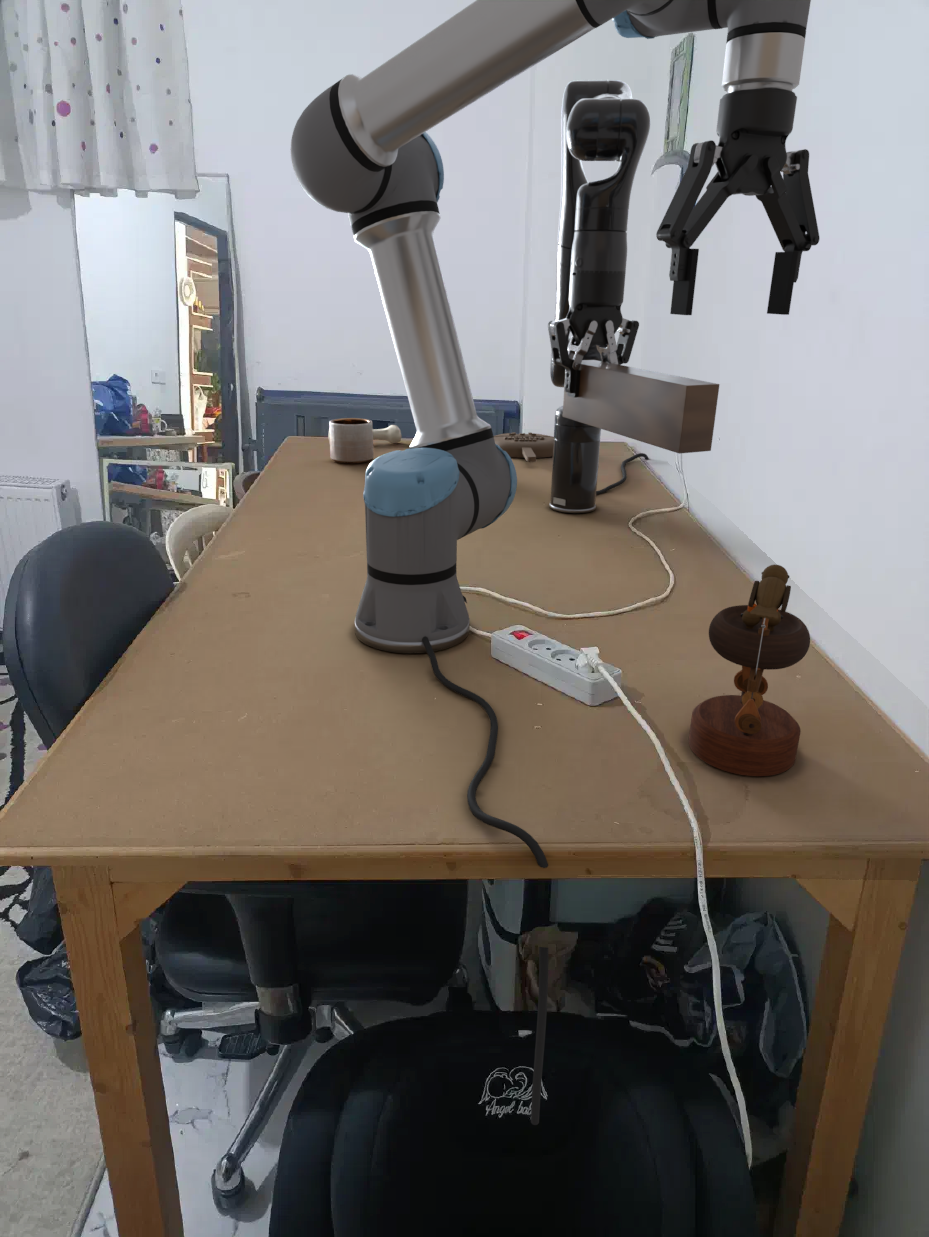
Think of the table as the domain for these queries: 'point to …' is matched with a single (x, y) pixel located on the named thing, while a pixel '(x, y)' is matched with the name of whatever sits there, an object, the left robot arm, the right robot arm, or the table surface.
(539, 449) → the ice cream bar
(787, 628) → the brown wooden stacked piece
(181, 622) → the table surface
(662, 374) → the bar
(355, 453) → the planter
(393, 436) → the dog toy
